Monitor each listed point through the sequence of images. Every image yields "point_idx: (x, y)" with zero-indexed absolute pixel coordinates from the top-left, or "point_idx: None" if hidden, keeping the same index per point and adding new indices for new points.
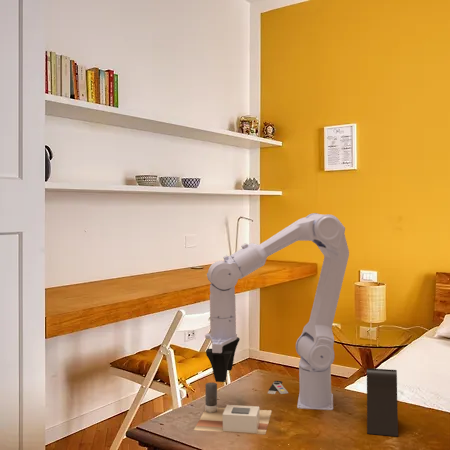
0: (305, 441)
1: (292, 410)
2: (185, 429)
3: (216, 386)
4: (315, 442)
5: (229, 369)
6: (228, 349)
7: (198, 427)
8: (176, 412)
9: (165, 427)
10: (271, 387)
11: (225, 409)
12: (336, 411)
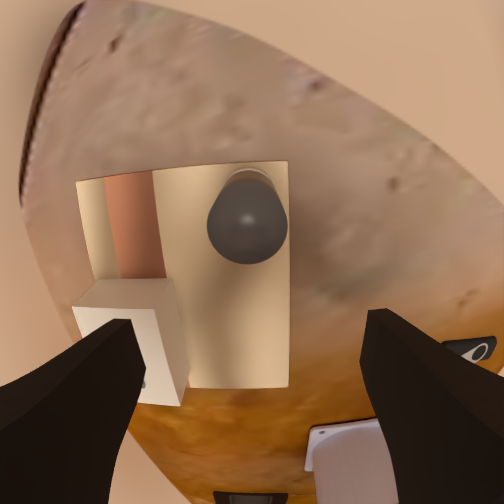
0: (145, 436)
1: (306, 418)
2: (88, 145)
3: (240, 260)
4: (150, 446)
5: (363, 357)
6: (418, 478)
7: (94, 191)
8: (223, 47)
9: (90, 71)
10: (458, 348)
11: (111, 310)
12: None
